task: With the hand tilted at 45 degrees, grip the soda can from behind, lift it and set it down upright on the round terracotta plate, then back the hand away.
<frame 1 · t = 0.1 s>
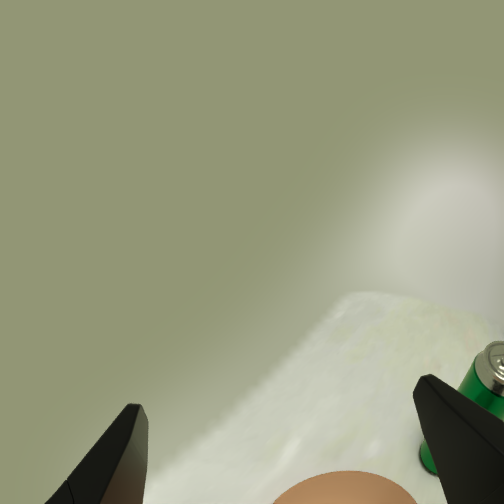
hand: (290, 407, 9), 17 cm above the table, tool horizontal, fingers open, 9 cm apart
soda can: (441, 456, 19), on the table
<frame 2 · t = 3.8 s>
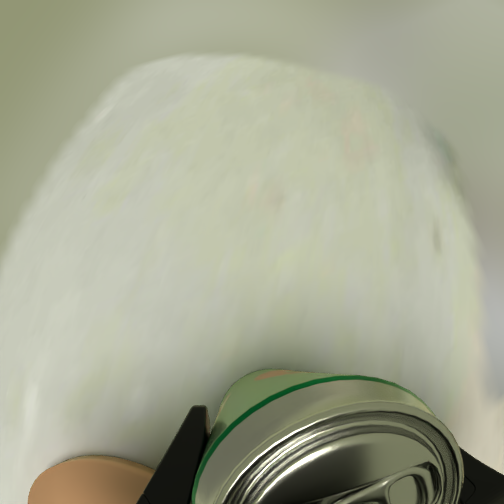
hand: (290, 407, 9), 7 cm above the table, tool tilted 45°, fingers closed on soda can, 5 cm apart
soda can: (269, 415, 15), on the table, touching gripper
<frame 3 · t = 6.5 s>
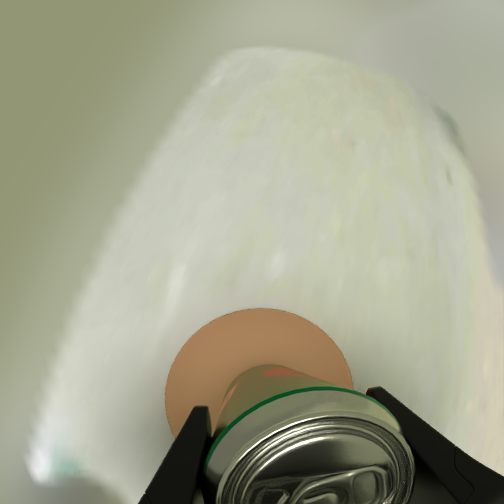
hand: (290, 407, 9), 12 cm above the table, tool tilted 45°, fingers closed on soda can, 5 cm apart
soda can: (268, 406, 16), point 3 cm above the table, touching gripper
terracotta plate: (259, 399, 19), on the table
when the fingers open (10 cm above the table, at t = 7.4 s): soda can stays where it is, resting on terracotta plate.
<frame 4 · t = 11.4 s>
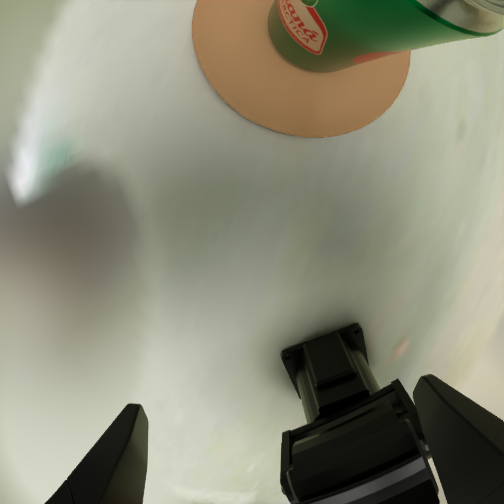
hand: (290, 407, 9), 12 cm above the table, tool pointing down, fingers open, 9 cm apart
soda can: (313, 31, 13), point 1 cm above the table, touching terracotta plate
terracotta plate: (303, 35, 14), on the table
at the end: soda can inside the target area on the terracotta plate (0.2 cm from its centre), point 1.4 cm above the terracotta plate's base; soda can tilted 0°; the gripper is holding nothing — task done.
